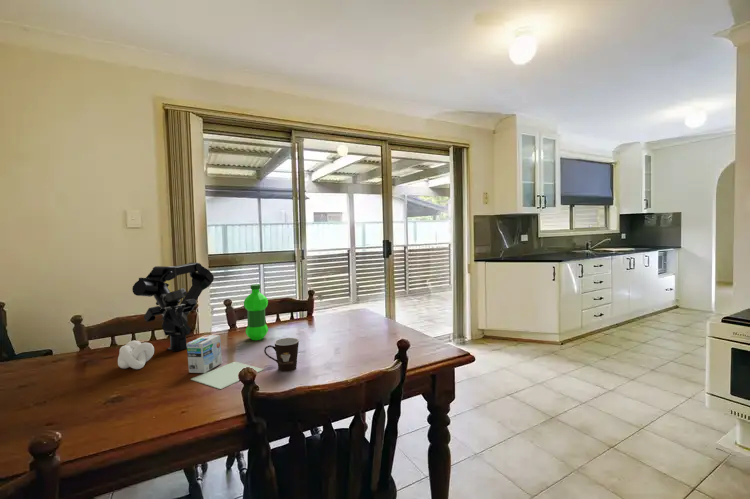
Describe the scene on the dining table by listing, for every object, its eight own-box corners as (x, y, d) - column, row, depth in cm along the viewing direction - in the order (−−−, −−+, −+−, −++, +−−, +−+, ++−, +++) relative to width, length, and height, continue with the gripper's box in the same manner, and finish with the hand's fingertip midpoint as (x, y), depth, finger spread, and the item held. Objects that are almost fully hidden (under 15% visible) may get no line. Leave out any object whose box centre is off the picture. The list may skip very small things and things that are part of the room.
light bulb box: (204, 373, 129) (202, 343, 128) (188, 373, 130) (185, 343, 130) (223, 362, 139) (220, 334, 139) (207, 362, 141) (205, 334, 140)
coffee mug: (303, 365, 136) (303, 339, 136) (291, 374, 128) (290, 346, 128) (277, 361, 140) (276, 336, 140) (263, 370, 132) (262, 343, 131)
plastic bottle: (273, 337, 171) (271, 284, 170) (255, 343, 162) (253, 287, 161) (259, 333, 177) (257, 282, 175) (240, 339, 168) (238, 285, 166)
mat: (190, 379, 125) (190, 378, 125) (234, 362, 140) (234, 361, 140) (220, 389, 117) (220, 388, 117) (263, 369, 132) (263, 369, 132)
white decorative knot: (150, 358, 146) (149, 335, 145) (159, 366, 137) (157, 342, 137) (116, 365, 138) (114, 342, 137) (123, 374, 130) (121, 350, 129)
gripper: (146, 286, 134) (166, 320, 130) (193, 279, 151) (212, 308, 146) (135, 305, 139) (154, 338, 134) (182, 296, 155) (200, 325, 151)
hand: (181, 326), depth 141 cm, fingers closed
